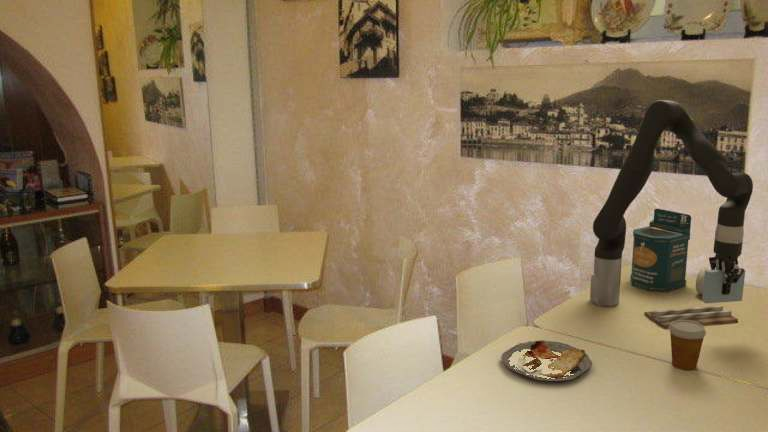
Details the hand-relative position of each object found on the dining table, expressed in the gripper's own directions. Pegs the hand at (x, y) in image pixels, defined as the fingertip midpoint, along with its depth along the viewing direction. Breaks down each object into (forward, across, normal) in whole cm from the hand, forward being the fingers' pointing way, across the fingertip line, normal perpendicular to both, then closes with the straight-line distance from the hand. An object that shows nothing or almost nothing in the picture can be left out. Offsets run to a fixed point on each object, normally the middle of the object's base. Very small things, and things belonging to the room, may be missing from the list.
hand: (722, 292), depth 196 cm
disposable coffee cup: (+15, +16, -22) cm, 31 cm away
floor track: (+14, -15, 0) cm, 21 cm away
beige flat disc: (+15, -35, +18) cm, 42 cm away
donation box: (+15, -49, +7) cm, 52 cm away
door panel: (+3, 0, 0) cm, 3 cm away
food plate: (+15, +8, -60) cm, 62 cm away
